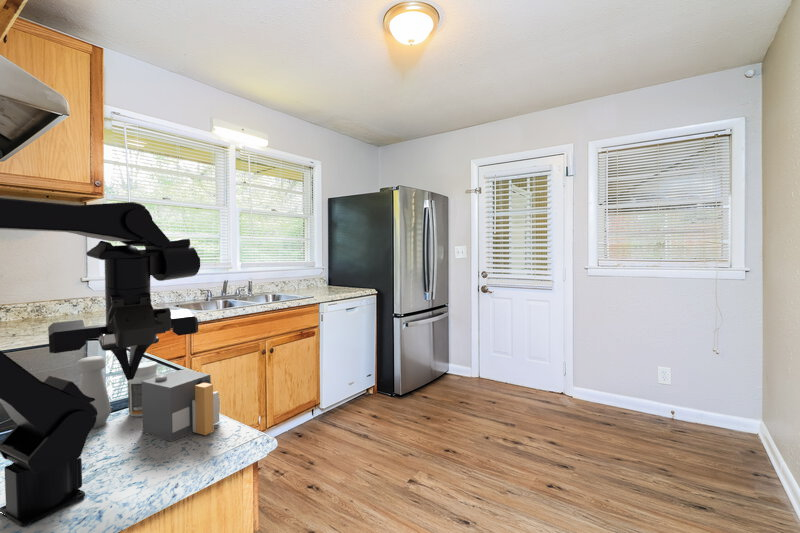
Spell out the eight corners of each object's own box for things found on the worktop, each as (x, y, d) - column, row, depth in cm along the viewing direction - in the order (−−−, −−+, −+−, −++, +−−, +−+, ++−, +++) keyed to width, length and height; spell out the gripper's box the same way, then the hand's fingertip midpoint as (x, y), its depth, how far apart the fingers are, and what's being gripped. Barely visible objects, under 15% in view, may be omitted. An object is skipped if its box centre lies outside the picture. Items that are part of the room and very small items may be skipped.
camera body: (174, 442, 66) (172, 384, 66) (142, 432, 70) (141, 378, 70) (213, 423, 74) (212, 371, 73) (183, 415, 77) (182, 366, 77)
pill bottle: (168, 408, 81) (167, 361, 81) (143, 419, 76) (142, 369, 75) (147, 405, 83) (146, 359, 82) (121, 416, 77) (120, 367, 77)
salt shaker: (77, 434, 69) (75, 363, 69) (68, 426, 73) (66, 358, 72) (116, 423, 74) (114, 356, 73) (106, 415, 77) (104, 352, 77)
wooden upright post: (205, 435, 68) (204, 387, 68) (192, 431, 69) (191, 384, 69) (228, 423, 73) (227, 379, 72) (216, 420, 74) (215, 376, 74)
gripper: (47, 305, 47) (53, 421, 50) (209, 292, 60) (207, 385, 62) (45, 284, 55) (51, 385, 58) (189, 277, 68) (188, 360, 70)
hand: (129, 379), depth 62 cm, fingers closed
